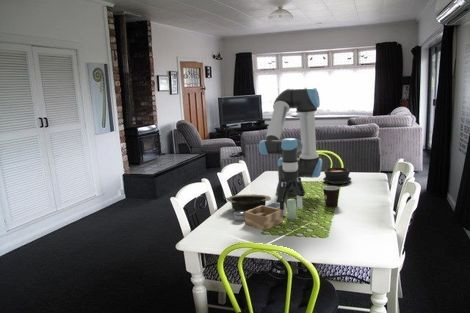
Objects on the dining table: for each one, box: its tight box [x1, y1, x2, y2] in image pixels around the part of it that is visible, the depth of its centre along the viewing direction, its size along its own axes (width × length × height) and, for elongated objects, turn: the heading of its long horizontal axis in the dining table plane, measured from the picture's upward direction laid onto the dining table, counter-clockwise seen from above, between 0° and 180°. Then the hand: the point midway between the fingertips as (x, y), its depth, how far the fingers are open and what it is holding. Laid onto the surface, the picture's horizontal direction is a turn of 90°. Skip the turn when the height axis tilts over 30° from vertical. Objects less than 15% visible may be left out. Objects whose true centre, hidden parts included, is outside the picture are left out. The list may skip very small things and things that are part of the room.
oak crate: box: [244, 205, 284, 231], centre depth 183 cm, size 13×13×7 cm
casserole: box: [322, 167, 352, 185], centre depth 256 cm, size 25×19×8 cm
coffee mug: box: [322, 185, 340, 209], centre depth 207 cm, size 12×9×10 cm
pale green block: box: [286, 198, 298, 220], centre depth 188 cm, size 4×4×10 cm
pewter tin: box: [233, 210, 246, 223], centre depth 190 cm, size 6×6×5 cm
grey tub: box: [265, 201, 280, 209], centre depth 194 cm, size 8×8×6 cm
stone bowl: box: [225, 193, 272, 212], centre depth 207 cm, size 25×25×9 cm
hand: (291, 212), depth 188 cm, fingers open, 13 cm apart
